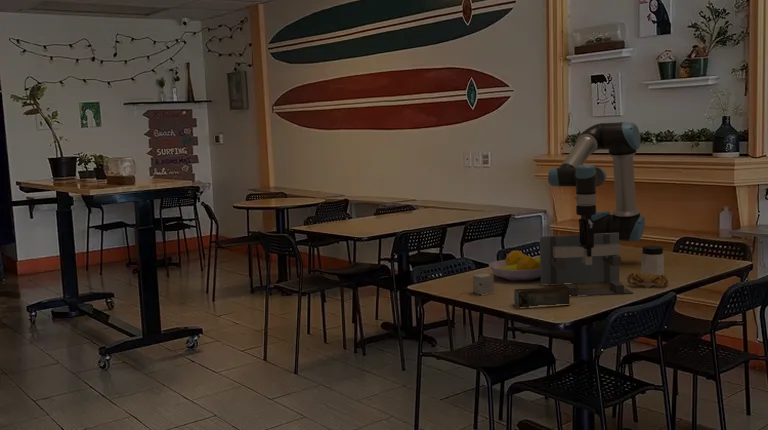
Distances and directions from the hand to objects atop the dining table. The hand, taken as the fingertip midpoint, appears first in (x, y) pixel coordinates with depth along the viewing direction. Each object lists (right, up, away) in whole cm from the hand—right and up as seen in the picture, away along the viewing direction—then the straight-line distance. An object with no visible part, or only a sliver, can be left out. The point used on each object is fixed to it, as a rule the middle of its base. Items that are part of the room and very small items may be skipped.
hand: (586, 263), depth 303 cm
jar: (+33, -6, +20) cm, 39 cm away
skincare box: (-41, -12, +1) cm, 42 cm away
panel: (0, -10, +5) cm, 11 cm away
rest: (+1, -11, -8) cm, 14 cm away
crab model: (+24, -9, +2) cm, 26 cm away
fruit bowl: (-20, -8, +26) cm, 34 cm away
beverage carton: (-22, -14, -22) cm, 34 cm away
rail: (0, +3, 0) cm, 3 cm away
